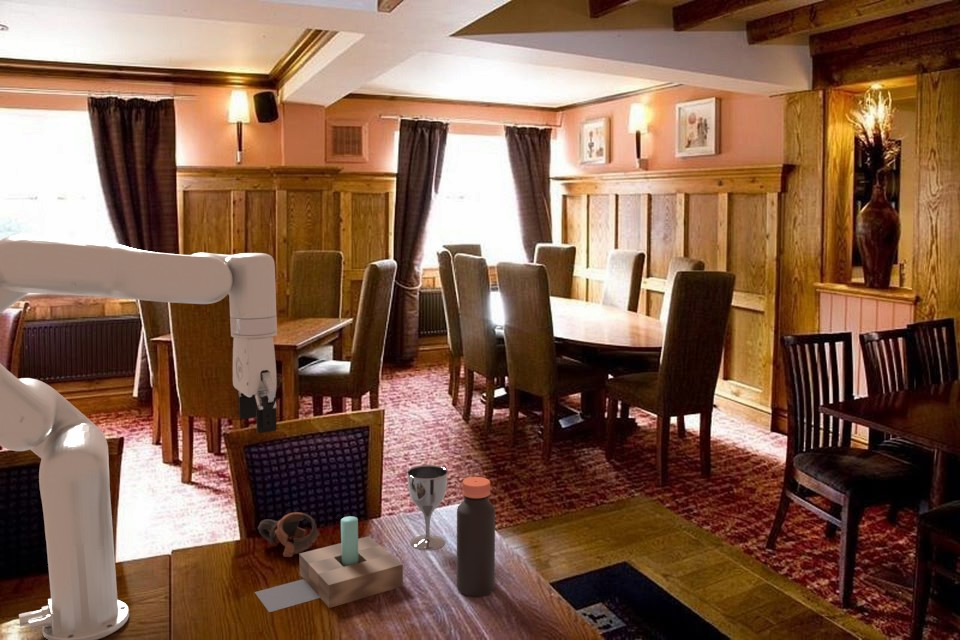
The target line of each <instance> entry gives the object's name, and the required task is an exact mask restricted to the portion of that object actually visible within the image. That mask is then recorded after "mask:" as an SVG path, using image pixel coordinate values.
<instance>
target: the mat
mask: <svg viewBox="0 0 960 640" xmlns="http://www.w3.org/2000/svg"><path fill="white" fill-rule="evenodd" d="M254 594H255V595H256V596H257V598H258V599H259V601H260V602H261V604H262V605H263V606H264V607H265V609H266V610H267V611H268V613H273V612H276V611H280V610H283V609H286V608H290V607H294V606H297V605H301V604H304V603H307V602H310V601H314V600H318V599H321V598H320V597H319V596H318V595H317V593H316V592H315V591H314V590H313V589H312V588H311V587H310V586H309V584H308V583H307V582H306V581H305V580H304V579H303V578H302V579H299V580H296V581H295V580H294V581H290V582H288V583H283V584H280V585H277V586H272V587H269V588H265V589H262V590H259V591H255V592H254Z"/></svg>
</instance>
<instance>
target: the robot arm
mask: <svg viewBox="0 0 960 640" xmlns="http://www.w3.org/2000/svg"><path fill="white" fill-rule="evenodd" d="M275 266H276V265H275V260H274V257H273V256H272V255H270V254H268V253H263V252H243V253H235V254H221V253H210V252H196V253H192V254H178V253H177V254H175V253H165V252H158V251H157V252H155V251H148V250H143V249H137V248H133V247H129V246H126V245H123V244H119V243H114V242H107V241H94V240H93V241H91V240H82V239H81V240H79V239H66V238H54V237H43V236H42V237H41V236H36V235H34V234H30V233H16V234H12V235H8V236H7V237H4V238H2V239H0V314H1V313H3V312H5V311H6V310H7V309H9V308H10V307H12V306H13V305H15V304H16V303H17V302H19V301H20V300H21V299H23V298H24V297H25V296H26V295H28V294H45V295H69V296H81V297H82V296H84V297H97V298H99V297H100V298H101V297H102V298H111V299H118V300H121V299H122V300H139V301H140V300H141V301H149V302H158V303H159V302H160V303H174V304H175V303H177V304H191V305H192V304H194V305H195V304H196V305H209V304H214V303H217V302H221V301H222V300H223V299H224V298H226V297H227V296H229V317H230V318H229V320H230V322H229V323H230V337H232V338H233V341H232V343H233V344H232V346H233V347H232V385H233V387H234V389H235V390H237V391H238V392H237V393H238V411H239V413H238V414H239V419H241V420H246V419H254V418H256V420H255V422H256V432H257V433H258V434H263V433H264V434H265V433H270V432H275V431H276V430H277V429H278V428H277V424H278V423H277V396H276V394H277V393H276V392H277V363H276V351H275V344H274V338H273V337H275V336H277V335H278V321H277V320H278V319H277V295H276V294H277V291H276V267H275ZM0 447H1V448H2V447H3V448H4V449H7V450H9V451H14V452H25V451H29V450H30V451H31V452H32V453H34V454H35V455H36V456H37V457H39V458H40V459H41V461H40V464H39V472H38V479H39V480H38V483H39V491H40V499H41V504H42V505H41V506H42V512H43V521H44V522H43V523H44V533H45V541H46V554H47V564H48V565H47V567H48V579H49V590H50V598H48V599H47V605H44V606H41V609H38V610H37V609H36V610H33V611H28V612H27V611H26V612H22V613H19V614H18V618H19V627H20V628H22V627H24V626H28V627H29V631H32V630H35V629H36V630H37V629H40V628H42V635H43V638H44V639H45V638H46V639H48V640H99V639H103V638H106V637H107V636H109V635H111V634H114V633H115V632H116V631H118V630H120V629H121V628H122V627H123V626H124V625H125V624H126V623H127V622H128V619H129V617H130V609H129V606H128V604H126V603H125V602H123V601H121V600H119V599H118V590H117V589H118V588H117V574H116V573H117V572H116V557H115V546H114V532H113V531H114V530H113V528H114V527H113V518H112V517H113V515H112V504H111V503H112V502H111V490H110V489H111V488H110V466H109V465H110V463H109V445H108V440H107V438H106V436H105V434H104V433H103V431H102V430H101V429H100V428H99V427H98V426H97V425H96V424H95V423H94V422H93V421H92V420H90V419H89V418H88V417H87V416H86V415H85V414H84V413H82V412H81V411H80V410H79V409H78V408H77V407H75V406H74V405H73V404H72V403H71V402H70V401H68V400H67V399H66V398H65V397H64V396H63V395H62V394H60V393H59V392H58V391H57V390H56V389H55V388H53V387H52V386H50V385H49V384H48V383H45V382H43V381H41V380H39V379H36V378H31V377H21V378H17V376H16V375H14V374H13V373H12V372H11V371H9V370H8V369H7V368H6V367H5V366H4V365H2V363H1V362H0ZM46 639H45V640H46Z"/></svg>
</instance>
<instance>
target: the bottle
mask: <svg viewBox="0 0 960 640" xmlns="http://www.w3.org/2000/svg"><path fill="white" fill-rule="evenodd" d="M461 481H462V485H461V486H462V488H461V489H462V491H461V492H462V493H461V494H462V497H463V499H464V500H463V501H462V502H461V503H459V505H458V506H457V508H456V589H457V590H458V592H459V593H461V594H463V595H464V596H469V597H484V596H486V595H489V594H491V593H492V592H493V591H494V590H495V576H496V574H495V573H496V572H495V568H496V567H495V560H496V559H495V558H496V555H495V554H496V553H495V552H496V551H495V550H496V549H495V547H496V508H495V506H494V505H493V504H492V502H490V500H489V498H490V495H491V480H490V479H488V478H486V477H482V476H471V477H467V478H465V479H463V480H461Z"/></svg>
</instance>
